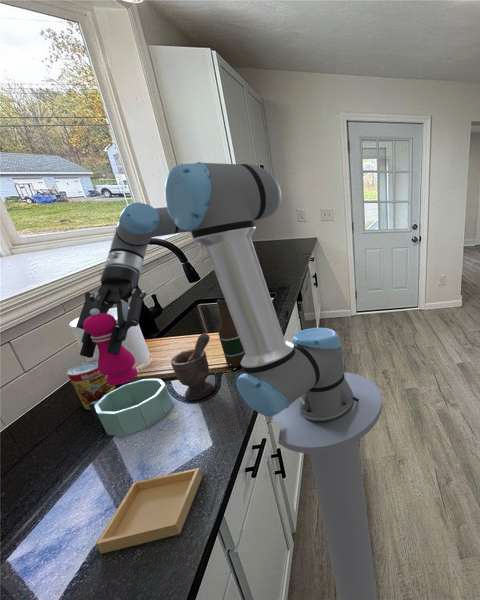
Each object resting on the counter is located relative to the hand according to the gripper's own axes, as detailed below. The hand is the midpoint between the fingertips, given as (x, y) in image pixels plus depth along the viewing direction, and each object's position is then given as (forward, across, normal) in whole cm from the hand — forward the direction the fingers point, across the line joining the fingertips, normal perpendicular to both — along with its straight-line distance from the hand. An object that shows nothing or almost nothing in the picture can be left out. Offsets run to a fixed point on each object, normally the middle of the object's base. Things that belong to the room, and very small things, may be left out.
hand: (99, 354), depth 76 cm
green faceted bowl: (+13, -1, +18) cm, 22 cm away
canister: (-8, -23, +38) cm, 45 cm away
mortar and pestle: (+7, +14, +24) cm, 28 cm away
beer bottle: (-4, +18, +35) cm, 40 cm away
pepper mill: (+4, 0, +9) cm, 10 cm away
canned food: (+6, -16, +24) cm, 30 cm away
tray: (+34, +22, -4) cm, 41 cm away
